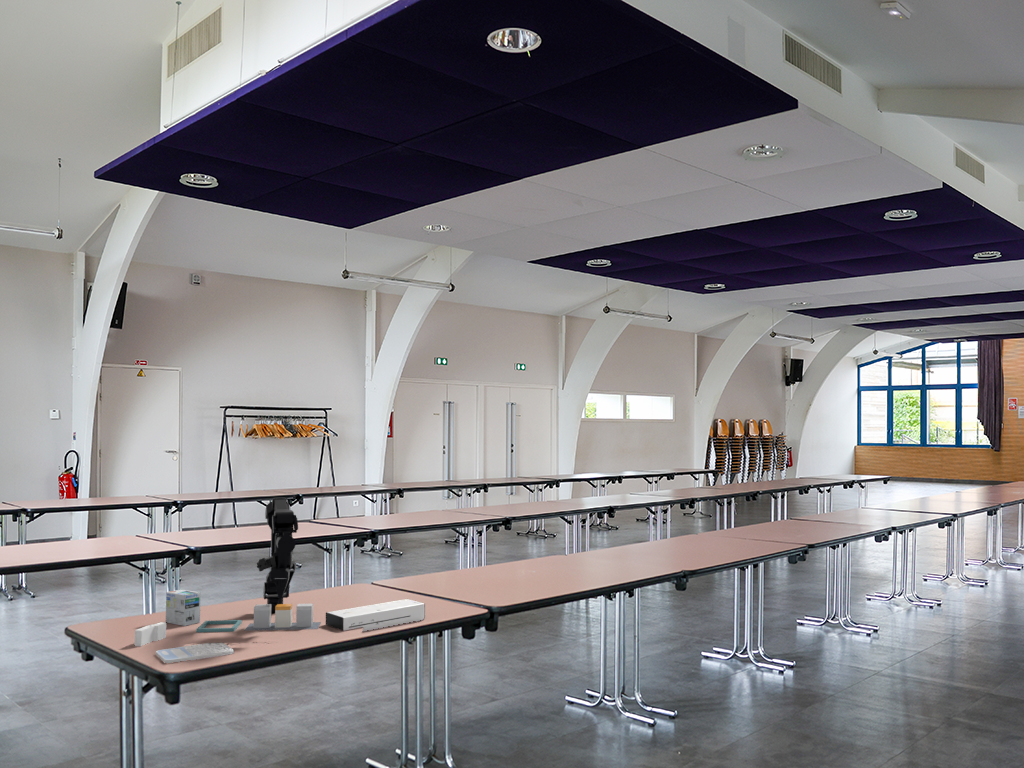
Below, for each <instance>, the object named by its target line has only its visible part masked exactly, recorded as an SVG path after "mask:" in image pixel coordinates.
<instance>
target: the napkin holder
mask: <svg viewBox="0 0 1024 768" xmlns="http://www.w3.org/2000/svg"><path fill="white" fill-rule="evenodd" d="M166 637H167V623H166V621H165V622H163V621H161V622H158V623H154V624H153V623H152V624H148V625H145V626H143V627H140V628H138V629H137V628H136V629H135V630H134V644H133V645H135V646H134V647H143V646H145V644H146V645H148V644H150V642H151V643H153V642H152V641H155V642H158V640H159V641H161V640H163V638H164V639H166ZM147 643H148V644H147ZM142 645H143V646H142Z"/></svg>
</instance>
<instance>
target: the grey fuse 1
mask: <svg viewBox="0 0 1024 768" xmlns="http://www.w3.org/2000/svg"><path fill="white" fill-rule="evenodd" d="M253 623H254V628H269V627H270V626H271V623H272V614H271V604H267V603H265V604H263V603H262V604H255V605H254V606H253Z"/></svg>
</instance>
